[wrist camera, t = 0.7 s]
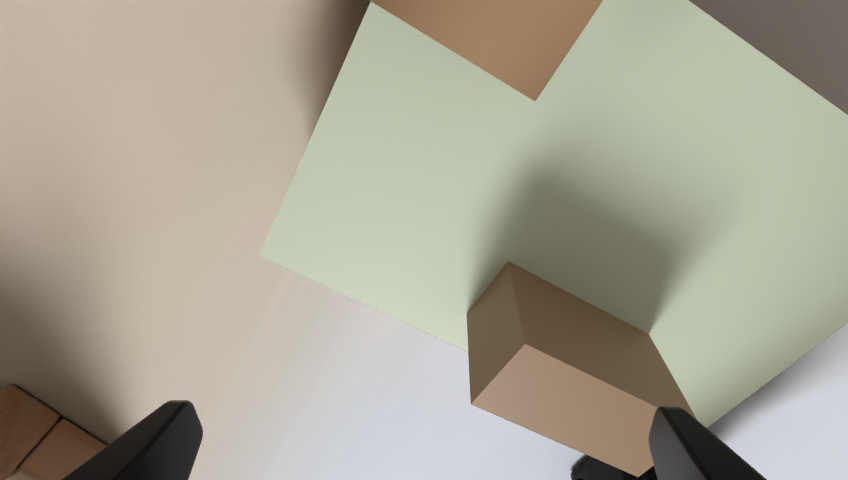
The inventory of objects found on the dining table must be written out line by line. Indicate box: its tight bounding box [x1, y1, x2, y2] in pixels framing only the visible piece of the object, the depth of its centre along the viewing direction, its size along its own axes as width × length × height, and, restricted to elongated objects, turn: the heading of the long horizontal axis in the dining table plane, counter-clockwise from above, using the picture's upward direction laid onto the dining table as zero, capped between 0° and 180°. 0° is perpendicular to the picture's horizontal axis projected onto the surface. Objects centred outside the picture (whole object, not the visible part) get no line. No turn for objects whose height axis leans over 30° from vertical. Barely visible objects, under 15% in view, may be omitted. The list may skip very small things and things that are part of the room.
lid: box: [259, 0, 848, 477], centre depth 13 cm, size 19×13×5 cm
